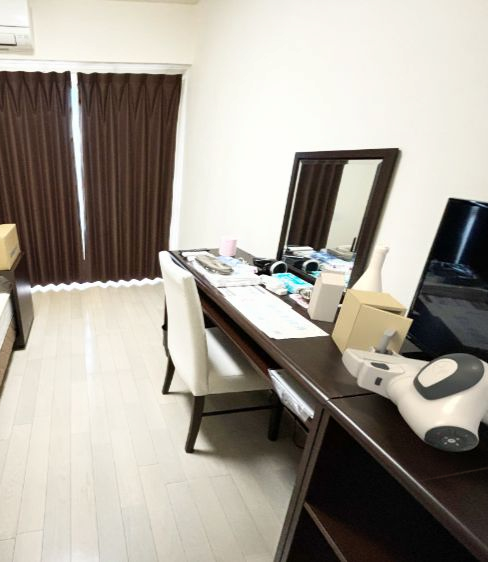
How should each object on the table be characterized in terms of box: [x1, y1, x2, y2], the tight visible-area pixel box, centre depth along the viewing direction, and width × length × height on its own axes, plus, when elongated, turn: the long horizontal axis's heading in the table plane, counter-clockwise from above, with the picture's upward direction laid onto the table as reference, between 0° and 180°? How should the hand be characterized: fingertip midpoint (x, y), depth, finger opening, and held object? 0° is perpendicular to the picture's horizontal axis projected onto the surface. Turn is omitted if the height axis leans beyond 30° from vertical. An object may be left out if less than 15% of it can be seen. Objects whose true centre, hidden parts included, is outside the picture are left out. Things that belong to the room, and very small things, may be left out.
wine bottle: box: [350, 244, 390, 293], centre depth 107 cm, size 10×10×30 cm
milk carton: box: [307, 269, 346, 323], centre depth 113 cm, size 7×7×19 cm
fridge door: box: [346, 305, 414, 354], centre depth 85 cm, size 6×11×18 cm, turn 38°
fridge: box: [331, 288, 408, 356], centre depth 94 cm, size 11×11×18 cm
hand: (380, 350), depth 81 cm, fingers closed
